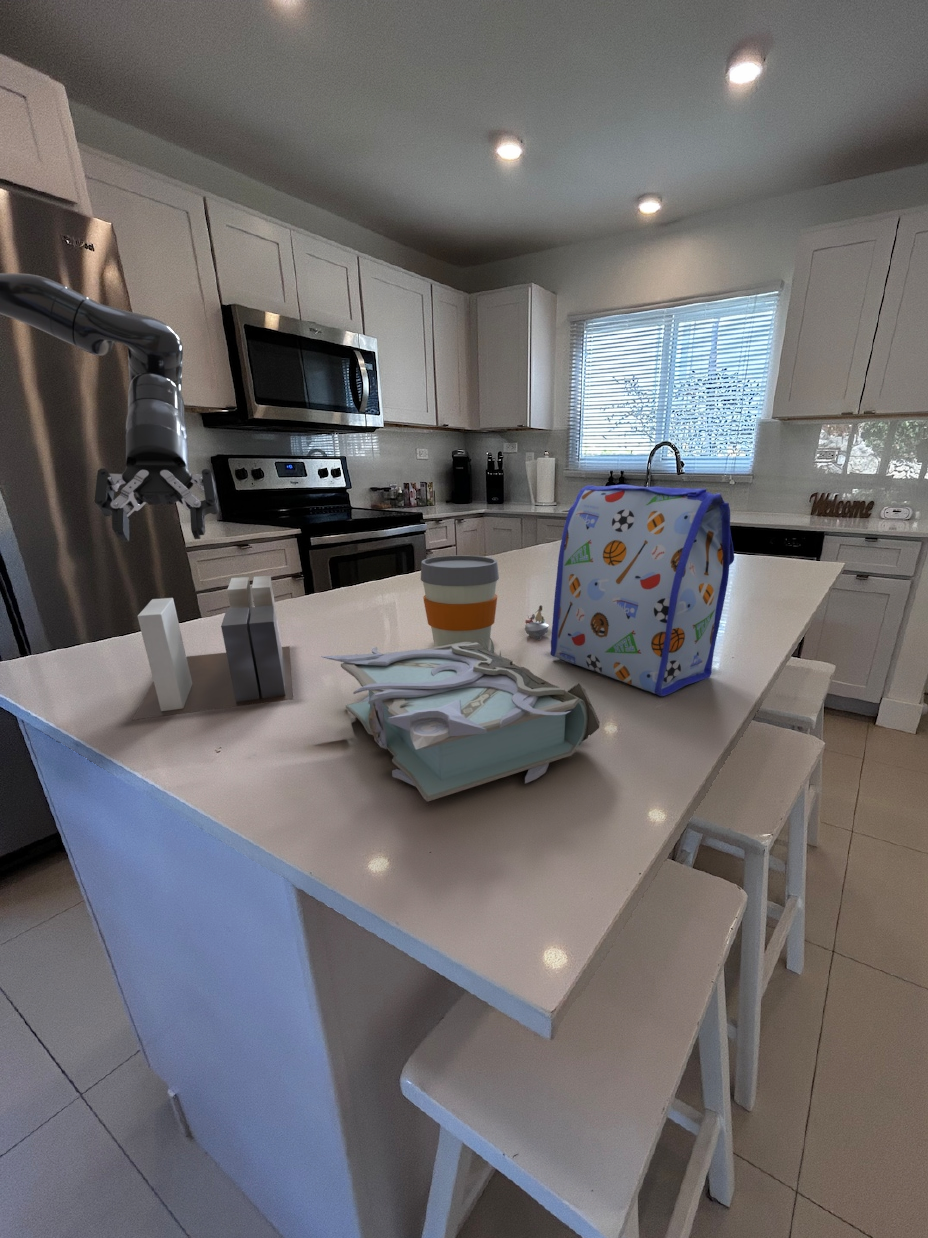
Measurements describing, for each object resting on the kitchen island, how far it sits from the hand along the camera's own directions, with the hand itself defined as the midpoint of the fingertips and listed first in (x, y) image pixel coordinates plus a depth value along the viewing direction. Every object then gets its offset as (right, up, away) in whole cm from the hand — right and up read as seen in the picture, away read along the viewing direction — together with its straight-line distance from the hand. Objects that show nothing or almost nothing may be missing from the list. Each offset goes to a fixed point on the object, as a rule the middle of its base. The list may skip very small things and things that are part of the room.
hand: (160, 536), depth 76 cm
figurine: (+51, -11, +28) cm, 59 cm away
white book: (+4, -21, -2) cm, 22 cm away
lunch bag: (+66, -17, +13) cm, 69 cm away
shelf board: (+6, -20, +5) cm, 21 cm away
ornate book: (+40, -26, -9) cm, 49 cm away
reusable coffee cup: (+39, -14, +20) cm, 46 cm away
